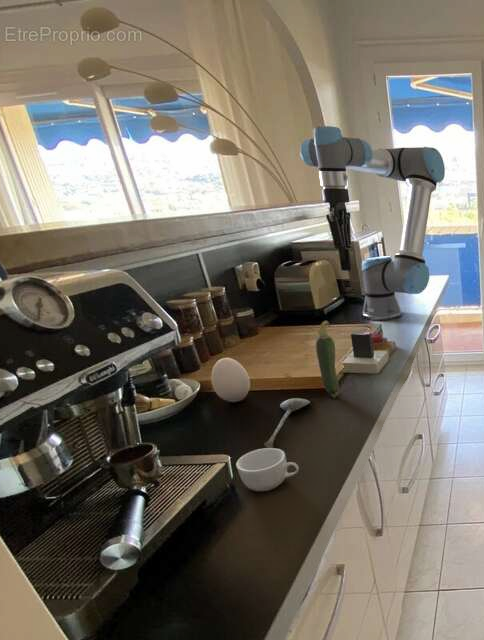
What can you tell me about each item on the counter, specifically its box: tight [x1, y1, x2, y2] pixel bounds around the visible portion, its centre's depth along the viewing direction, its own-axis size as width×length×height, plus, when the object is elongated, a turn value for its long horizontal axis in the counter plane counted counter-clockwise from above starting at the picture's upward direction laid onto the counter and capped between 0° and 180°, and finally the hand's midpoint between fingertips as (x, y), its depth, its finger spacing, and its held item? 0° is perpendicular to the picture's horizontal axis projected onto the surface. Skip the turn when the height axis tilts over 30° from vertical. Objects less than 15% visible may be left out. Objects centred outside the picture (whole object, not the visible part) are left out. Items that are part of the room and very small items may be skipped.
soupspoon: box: [263, 397, 311, 448], centre depth 101 cm, size 22×3×7 cm
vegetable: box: [315, 320, 340, 399], centre depth 111 cm, size 4×4×20 cm
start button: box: [372, 333, 384, 343], centre depth 142 cm, size 4×4×2 cm
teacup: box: [235, 447, 300, 492], centre depth 80 cm, size 10×8×5 cm
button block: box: [373, 336, 397, 357], centre depth 144 cm, size 10×9×4 cm
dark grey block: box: [350, 331, 374, 358], centre depth 131 cm, size 6×2×7 cm, turn 85°
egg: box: [210, 357, 251, 403], centre depth 109 cm, size 8×8×11 cm
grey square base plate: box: [339, 351, 390, 374], centre depth 133 cm, size 11×11×3 cm
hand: (346, 270), depth 141 cm, fingers closed
